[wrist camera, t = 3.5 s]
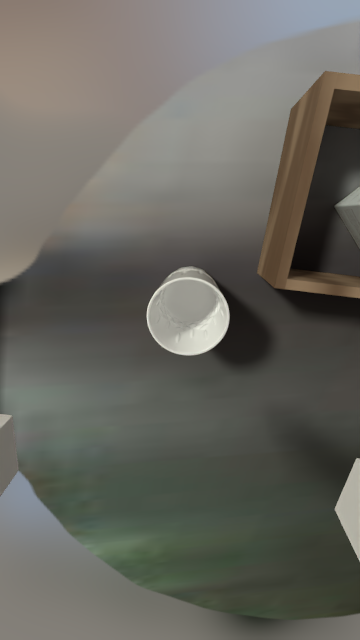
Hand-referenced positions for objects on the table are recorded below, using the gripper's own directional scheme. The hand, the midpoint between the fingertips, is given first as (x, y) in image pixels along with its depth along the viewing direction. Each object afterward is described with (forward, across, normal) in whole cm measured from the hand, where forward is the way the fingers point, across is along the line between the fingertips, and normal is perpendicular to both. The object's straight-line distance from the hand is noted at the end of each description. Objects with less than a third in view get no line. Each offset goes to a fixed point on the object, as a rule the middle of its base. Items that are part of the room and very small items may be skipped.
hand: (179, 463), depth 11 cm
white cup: (+27, 0, 0) cm, 27 cm away
